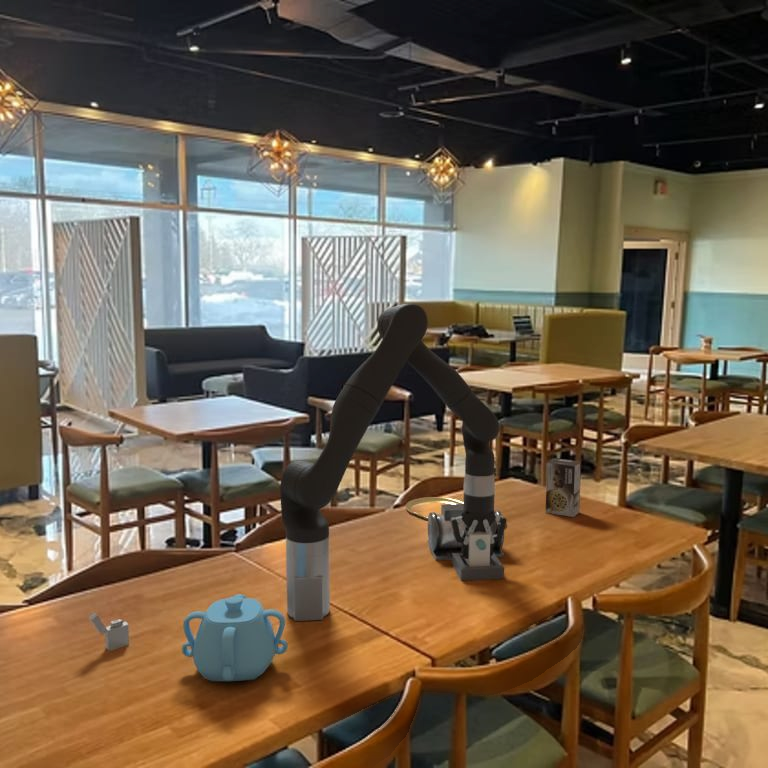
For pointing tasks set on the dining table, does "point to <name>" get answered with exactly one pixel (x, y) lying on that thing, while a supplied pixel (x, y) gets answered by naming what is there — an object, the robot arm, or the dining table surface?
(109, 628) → the lighter
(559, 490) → the coffee box
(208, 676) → the decorative pot
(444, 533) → the motor
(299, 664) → the dining table surface
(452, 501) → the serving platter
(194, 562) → the dining table surface
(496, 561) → the tray
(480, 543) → the white box with button
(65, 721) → the dining table surface
